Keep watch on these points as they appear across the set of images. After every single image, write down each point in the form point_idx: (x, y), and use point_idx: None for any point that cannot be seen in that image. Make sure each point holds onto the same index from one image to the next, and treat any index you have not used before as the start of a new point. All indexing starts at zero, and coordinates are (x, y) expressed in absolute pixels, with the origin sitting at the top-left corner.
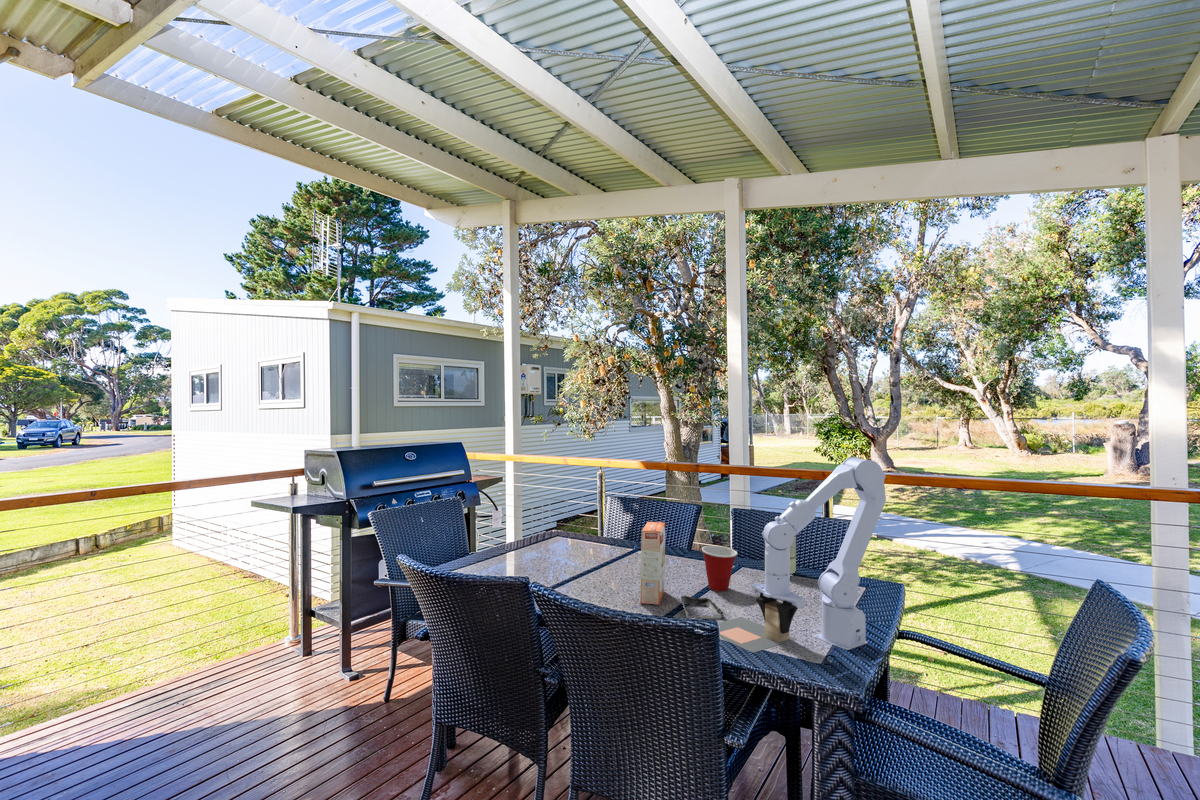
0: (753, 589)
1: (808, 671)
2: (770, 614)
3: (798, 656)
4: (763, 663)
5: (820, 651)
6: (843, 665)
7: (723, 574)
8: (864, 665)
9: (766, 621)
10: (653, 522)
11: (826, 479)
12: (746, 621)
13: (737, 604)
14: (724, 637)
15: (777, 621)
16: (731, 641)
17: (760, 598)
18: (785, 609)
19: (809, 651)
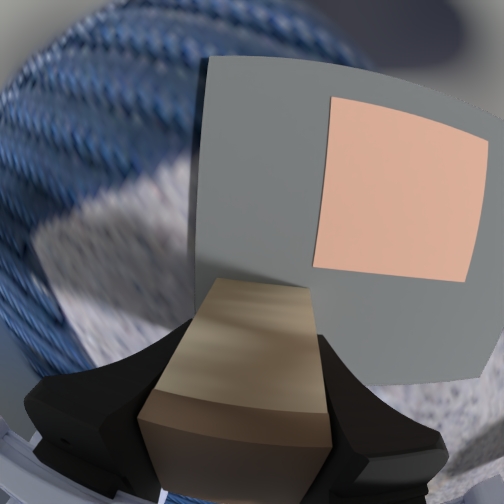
0: (494, 498)
1: (17, 148)
2: (258, 376)
3: (87, 226)
4: (126, 41)
5: (90, 331)
6: (12, 279)
7: None
8: (8, 318)
9: (302, 337)
10: None
11: None
12: (454, 362)
13: (497, 424)
14: (439, 110)
15: (187, 341)
16: (385, 87)
17: (401, 473)
18: (36, 385)
19: (102, 304)
